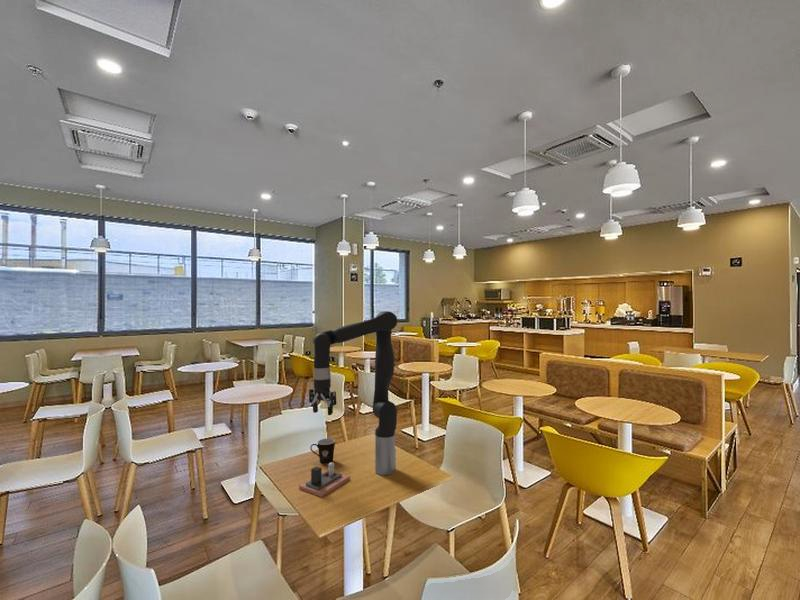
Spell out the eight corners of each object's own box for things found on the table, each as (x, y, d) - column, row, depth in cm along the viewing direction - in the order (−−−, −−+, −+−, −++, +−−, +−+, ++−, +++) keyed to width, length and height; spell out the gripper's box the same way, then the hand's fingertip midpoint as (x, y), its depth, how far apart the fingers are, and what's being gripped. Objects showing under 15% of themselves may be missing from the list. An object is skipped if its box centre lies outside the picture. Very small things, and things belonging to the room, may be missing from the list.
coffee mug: (338, 459, 187) (338, 439, 188) (328, 466, 180) (328, 445, 180) (319, 455, 192) (319, 436, 193) (309, 462, 185) (309, 442, 185)
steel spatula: (329, 472, 169) (329, 456, 169) (341, 476, 165) (341, 460, 166) (305, 485, 157) (305, 468, 157) (318, 490, 153) (318, 472, 153)
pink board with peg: (328, 472, 173) (328, 455, 173) (349, 479, 166) (349, 461, 166) (299, 489, 157) (299, 470, 157) (321, 497, 150) (321, 477, 151)
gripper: (339, 377, 166) (340, 413, 166) (316, 374, 173) (316, 409, 173) (328, 380, 159) (329, 418, 159) (304, 377, 167) (305, 413, 166)
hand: (322, 413), depth 166 cm, fingers open, 8 cm apart
